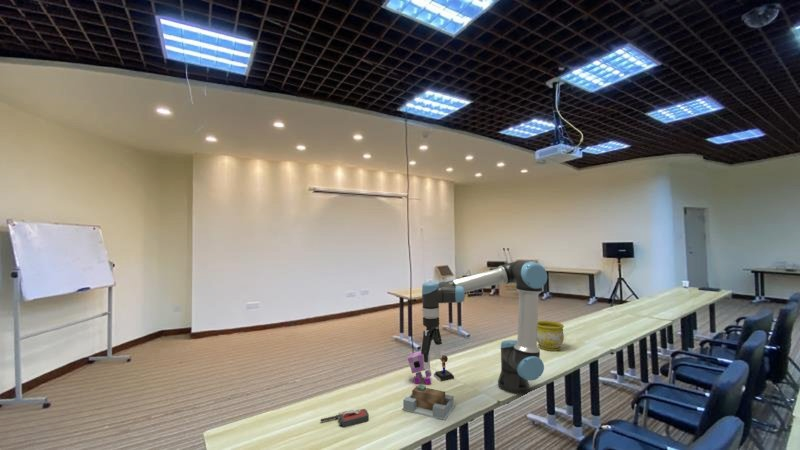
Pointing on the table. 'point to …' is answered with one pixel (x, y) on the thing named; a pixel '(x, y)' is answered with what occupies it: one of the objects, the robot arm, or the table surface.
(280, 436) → the table surface
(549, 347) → the flowerpot
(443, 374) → the figurine
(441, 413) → the jig
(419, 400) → the wooden block
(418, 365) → the toy
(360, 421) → the chainsaw
